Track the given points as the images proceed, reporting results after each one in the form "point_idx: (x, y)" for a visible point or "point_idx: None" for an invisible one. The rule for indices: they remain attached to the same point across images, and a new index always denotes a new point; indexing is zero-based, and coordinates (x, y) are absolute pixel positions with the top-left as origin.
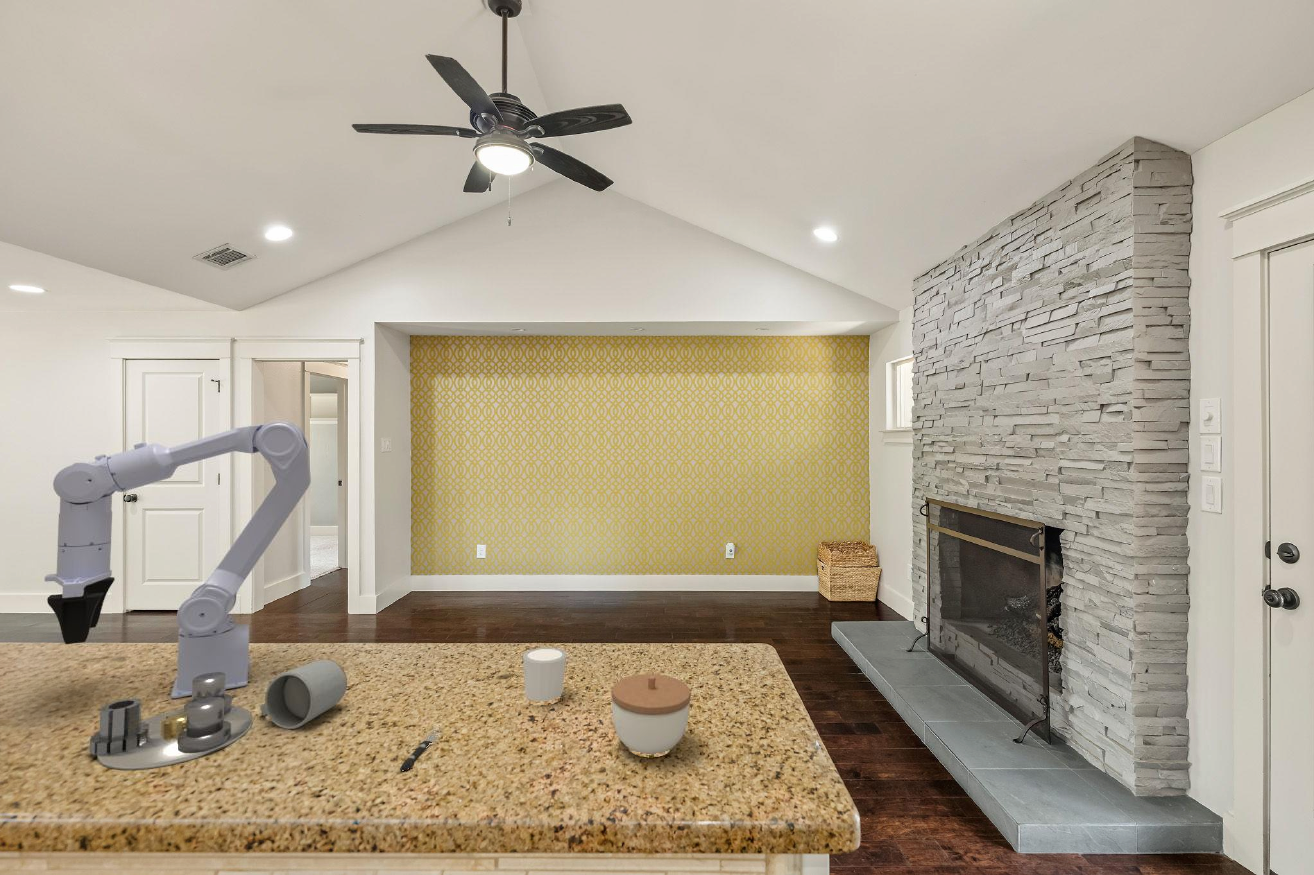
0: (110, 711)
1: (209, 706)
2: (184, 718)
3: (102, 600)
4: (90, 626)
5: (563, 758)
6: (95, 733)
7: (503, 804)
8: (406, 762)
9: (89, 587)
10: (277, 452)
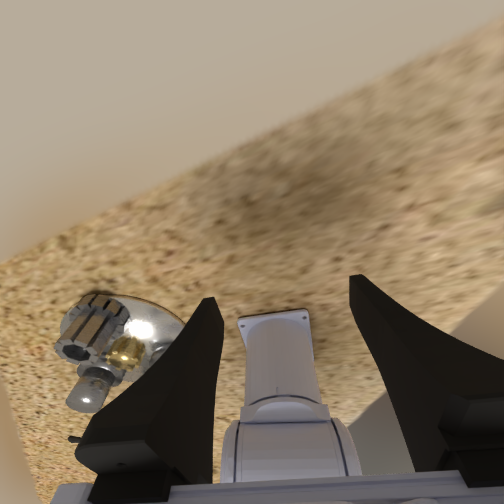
0: (56, 349)
1: (74, 408)
2: (118, 364)
3: (386, 385)
4: (350, 300)
5: (87, 473)
6: (93, 305)
7: (38, 457)
8: (71, 442)
9: (421, 430)
10: None
